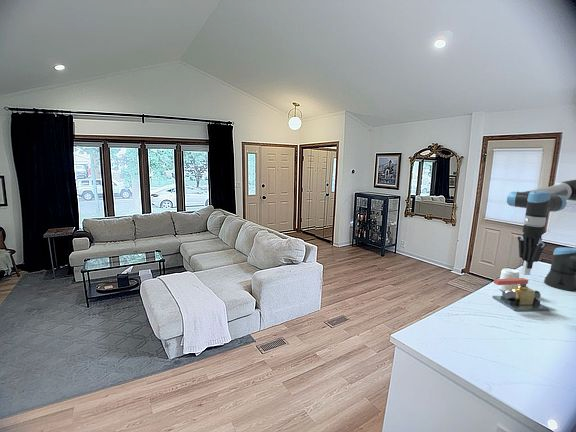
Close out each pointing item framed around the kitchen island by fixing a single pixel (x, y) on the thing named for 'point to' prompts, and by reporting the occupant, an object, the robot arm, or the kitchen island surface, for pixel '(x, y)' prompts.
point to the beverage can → (508, 277)
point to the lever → (511, 281)
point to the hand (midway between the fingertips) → (525, 274)
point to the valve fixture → (521, 299)
